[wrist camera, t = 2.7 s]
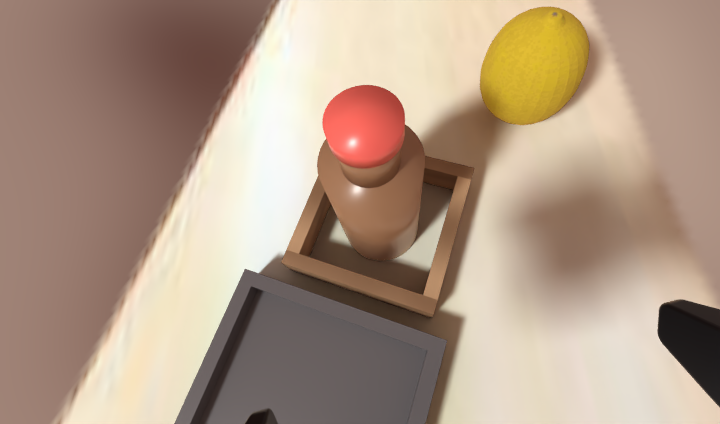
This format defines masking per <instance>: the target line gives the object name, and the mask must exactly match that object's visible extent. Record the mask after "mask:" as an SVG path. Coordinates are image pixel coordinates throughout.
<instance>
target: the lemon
mask: <svg viewBox="0 0 720 424" xmlns="http://www.w3.org/2000/svg"><path fill="white" fill-rule="evenodd" d="M588 55H589V41H588V37H587V33H586V30H585V29H584V27H583V25H582V24H581V22H580V21H579V20H578V19H577V18H576V17H575V16H574V15H572V14H571V13H569V12H567V11H566V10H563V9H560V8H555V7H539V8H534V9H530V10H528V11H526V12H523V13H521V14H519V15H517V16H516V17H515V18H513V19H512V20H510V21H509V22H508V23H507V24H506V25H505V26H504V27H503V28H502V29H501V30H500V32H499V33H498V34H497V36H496V37H495V38H494V40H493V41H492V43H491V45H490V47H489V49H488V51H487V53H486V56H485V59H484V61H483V64H482V68H481V76H480V90H481V94H482V98H483V101H484V103H485V104H486V106H487V108H488V109H489V111H490V112H491V113H492V114H493V115H495V116H496V117H497V118H499V119H501V120H502V121H504V122H507V123H510V124H517V125H528V124H534V123H537V122H540V121H543V120H545V119H547V118H549V117H550V116H552V115H554V114H555V113H556V112H558V111H559V110H560V109H561V108H562V107H563V106H564V105H565V104H566V103H567V102H568V101H569V100H570V99H571V97H572V96H573V95H574V93H575V92H576V90H577V88H578V86H579V84H580V82H581V80H582V78H583V75H584V73H585V70H586V67H587V63H588Z"/></svg>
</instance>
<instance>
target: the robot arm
mask: <svg viewBox="0 0 720 424" xmlns="http://www.w3.org/2000/svg"><path fill="white" fill-rule="evenodd" d="M658 336H659V339H660V341H661V342H662V344H663V345H664V346H665V347H666V348H667V349H668V350H669V352H670V353H671V354H672V355H673V356H674V357H675V358H676V359H677V361H678V362H679V363H680V364H681V365H682V366H683V367H684V368H685V370H686V371H687V372H688V373H689V374H690V375H691V376H692V377H693V378H694V380H695V381H696V382H697V383H698V384H699V385H700V386H701V387H702V389H703V390H704V391H705V392H706V393H707V394H708V395H709V396H710V397H711V398H712V400H713V401H714V402H715V403H716V404H717V405H718V406H719V407H720V309H716V308H712V307H708V306H705V305H701V304H697V303H694V302H690V301H686V300H674V301H670V302H667V303H663V304H662V305H661V306H660V308H659V318H658ZM244 424H278V422H277V420H276V418H275V415H274V413H273V411H272V410H271V409H270V408H266V409H263V410H259V411H255V412H253V413H252V414H251V415H250V416H249V417H248V419H247V420H246V422H245V423H244Z"/></svg>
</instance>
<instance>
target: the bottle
mask: <svg viewBox="0 0 720 424" xmlns="http://www.w3.org/2000/svg"><path fill="white" fill-rule="evenodd" d="M323 129H324V133H325V136H326V140H325V141H324V143H323V145H322V147H321V149H320V152H319V156H318V164H317V167H318V175H319V178H320V181H321V183H322V186H323V188H324V190H325V192H326V194H327V196H328V198H329V200H330V202H331V204H332V207H333V209H334V211H335V213H336V215H337V217H338V219H339V221H340V223H341V225H342V227H343V230H344V232H345V234H346V236H347V238H348V240H349V242H350V244H351V245H352V247H353V248H354V249H355V250H356V251H357V252H358V253H359V254H361V255H362V256H364V257H366V258H368V259H372V260H377V261H386V260H391V259H394V258H397V257H399V256H401V255H402V254H404V253H405V252H406V251H407V250H408V249H409V248H410V247H411V246H412V244H413V242H414V241H415V238H416V235H417V231H418V222H419V212H420V203H421V194H422V185H423V176H424V167H425V154H424V150H423V147H422V144H421V142H420V140H419V138H418V137H417V135H416V134H415V133H414V132H413V131H412V130H411V129H410V128H409V127H408V126H407V125H405V114H404V109H403V106H402V104H401V102H400V101H399V99H398V98H397V97H396V96H395V95H394V94H393V93H391V92H390V91H388V90H386V89H384V88H381V87H378V86H373V85H361V86H355V87H352V88H349V89H346V90H344V91H343V92H341V93H339V94H338V95H337V96H335V97H334V98H333V99H332V100H331V101H330V103H329V104H328V106H327V108H326V109H325V112H324V115H323Z"/></svg>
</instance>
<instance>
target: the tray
mask: <svg viewBox="0 0 720 424" xmlns="http://www.w3.org/2000/svg"><path fill="white" fill-rule="evenodd" d="M446 343H447V340H444V339H442V338H439V337H436V336H433V335H430V334H427V333H425V332H422V331H419V330H416V329H413V328H411V327H408V326H405V325H402V324H399V323H396V322H394V321H391V320H388V319H385V318H382V317H380V316H377V315H374V314H371V313H368V312H365V311H363V310H360V309H357V308H354V307H351V306H349V305H346V304H343V303H340V302H337V301H334V300H332V299H329V298H326V297H323V296H320V295H318V294H315V293H312V292H309V291H306V290H303V289H301V288H298V287H295V286H292V285H289V284H287V283H284V282H281V281H278V280H275V279H272V278H270V277H267V276H264V275H261V274H258V273H256V272H253V271H250V270H247V269H245V270H244V272H243V275H242V277H241V279H240V281H239V283H238V286H237V288H236V290H235V292H234V294H233V296H232V299H231V301H230V303H229V305H228V307H227V310H226V312H225V314H224V316H223V318H222V321H221V323H220V325H219V327H218V329H217V331H216V334H215V336H214V338H213V340H212V342H211V345H210V347H209V349H208V351H207V353H206V356H205V358H204V360H203V362H202V364H201V367H200V369H199V371H198V373H197V375H196V377H195V380H194V382H193V384H192V386H191V388H190V391H189V393H188V395H187V397H186V399H185V402H184V404H183V406H182V408H181V410H180V412H179V415H178V417H177V419H176V421H175V423H174V424H244V423H245V422H246V420H247V419H248V417H249V416H250V415H251V414H252V413H253V412H255V411H259V410H263V409H266V408H270V409H271V410H272V411H273V413H274V415H275V418H276V420H277V422H278V424H425V423H426V419H427V416H428V412H429V408H430V404H431V400H432V396H433V393H434V389H435V385H436V381H437V377H438V373H439V370H440V366H441V362H442V358H443V354H444V350H445V347H446Z"/></svg>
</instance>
